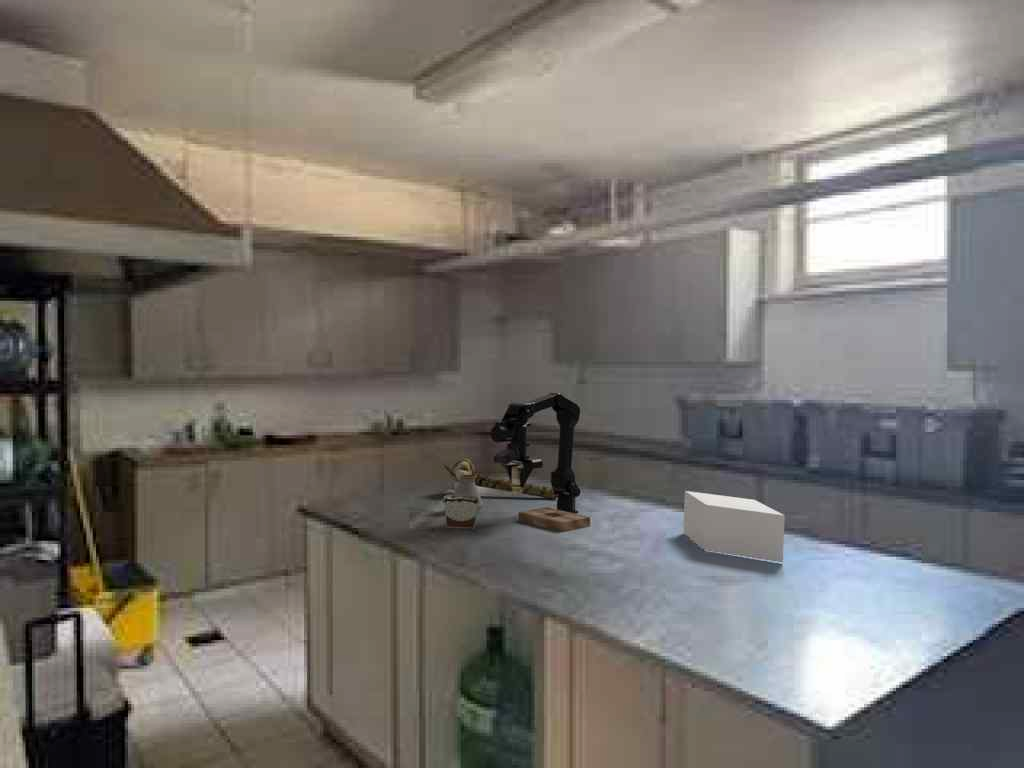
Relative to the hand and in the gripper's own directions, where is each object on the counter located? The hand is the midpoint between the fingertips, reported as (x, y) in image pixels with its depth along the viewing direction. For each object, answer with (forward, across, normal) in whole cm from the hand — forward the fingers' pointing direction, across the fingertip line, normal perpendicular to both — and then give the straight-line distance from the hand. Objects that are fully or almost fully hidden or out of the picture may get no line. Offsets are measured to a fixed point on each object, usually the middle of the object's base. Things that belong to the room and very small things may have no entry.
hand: (517, 486), depth 255 cm
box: (+13, +64, +28) cm, 71 cm away
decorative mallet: (+13, -36, +25) cm, 45 cm away
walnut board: (+12, +9, +8) cm, 18 cm away
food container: (+12, -6, -19) cm, 23 cm away
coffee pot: (+12, -28, -3) cm, 30 cm away
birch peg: (+2, 0, 0) cm, 3 cm away
